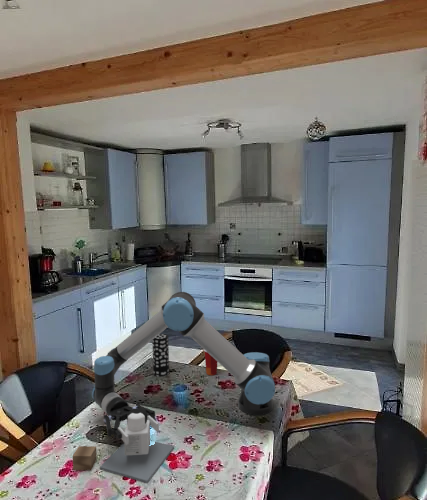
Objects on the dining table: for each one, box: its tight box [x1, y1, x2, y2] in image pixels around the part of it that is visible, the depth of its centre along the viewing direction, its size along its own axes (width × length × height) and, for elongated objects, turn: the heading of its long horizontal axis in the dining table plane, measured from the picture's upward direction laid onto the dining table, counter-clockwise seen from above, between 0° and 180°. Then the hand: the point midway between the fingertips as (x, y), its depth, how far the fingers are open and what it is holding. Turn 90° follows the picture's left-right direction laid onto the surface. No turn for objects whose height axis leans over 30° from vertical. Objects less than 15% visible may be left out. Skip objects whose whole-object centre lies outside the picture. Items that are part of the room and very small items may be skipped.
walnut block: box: [72, 445, 98, 471], centre depth 120 cm, size 6×5×5 cm
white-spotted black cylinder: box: [151, 333, 170, 378], centre depth 189 cm, size 8×8×20 cm
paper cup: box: [203, 349, 218, 376], centre depth 189 cm, size 8×8×14 cm
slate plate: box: [99, 441, 175, 484], centre depth 123 cm, size 18×18×1 cm
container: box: [123, 408, 151, 455], centre depth 122 cm, size 8×8×13 cm
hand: (143, 433), depth 119 cm, fingers closed on container, 10 cm apart
